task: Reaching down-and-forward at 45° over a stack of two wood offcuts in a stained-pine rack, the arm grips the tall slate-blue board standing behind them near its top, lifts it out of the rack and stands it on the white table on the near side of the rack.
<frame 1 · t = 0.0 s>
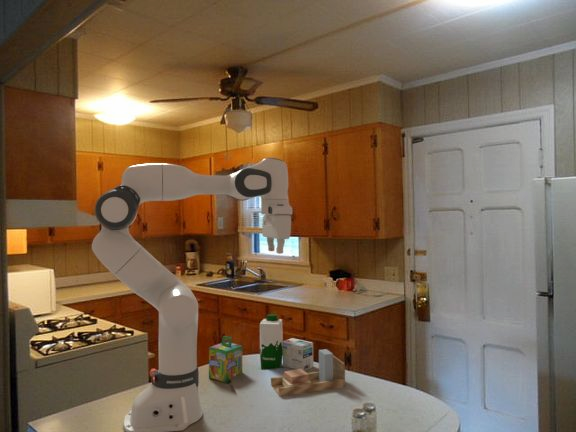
hand: (275, 252, 139), 48 cm above the table, tool pointing down, fingers open, 8 cm apart
light bulb box: (297, 369, 169), on the table
milk carton: (271, 367, 172), on the table
offcut top: (296, 379, 148), point 4 cm above the table, touching offcut low
tall board: (325, 383, 151), point 1 cm above the table, touching rack
rack: (307, 389, 149), on the table
offcut low: (296, 387, 148), point 1 cm above the table, touching offcut top, rack
chalk box: (225, 377, 162), on the table
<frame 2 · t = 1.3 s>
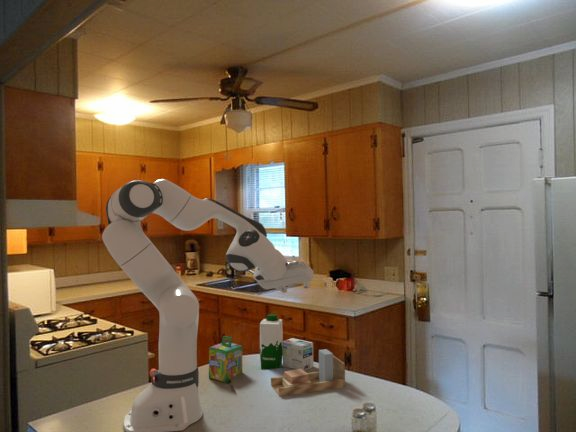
hand: (296, 288, 153), 34 cm above the table, tool tilted 50°, fingers open, 8 cm apart
nothing on the table moved.
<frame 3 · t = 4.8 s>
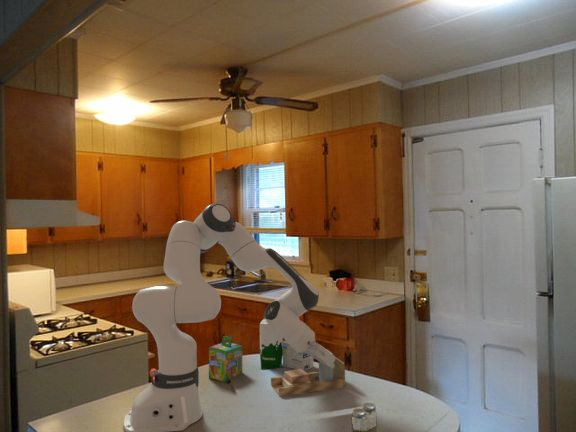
hand: (327, 363, 152), 8 cm above the table, tool tilted 45°, fingers closed on tall board, 6 cm apart
tall board: (325, 383, 151), point 1 cm above the table, touching gripper, rack
everything else where it was.
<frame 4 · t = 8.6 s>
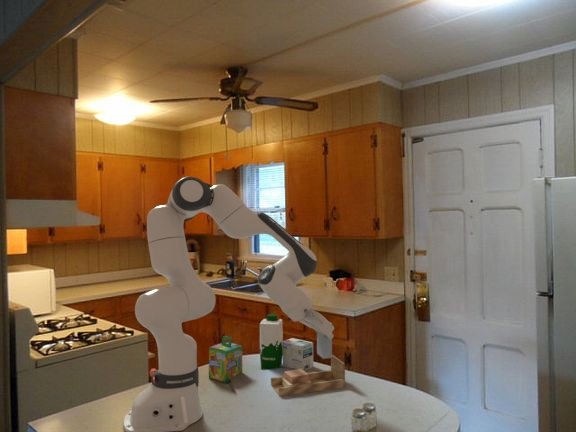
hand: (325, 334, 141), 21 cm above the table, tool tilted 45°, fingers closed on tall board, 6 cm apart
tall board: (324, 355, 141), point 14 cm above the table, touching gripper
everything else where it was.
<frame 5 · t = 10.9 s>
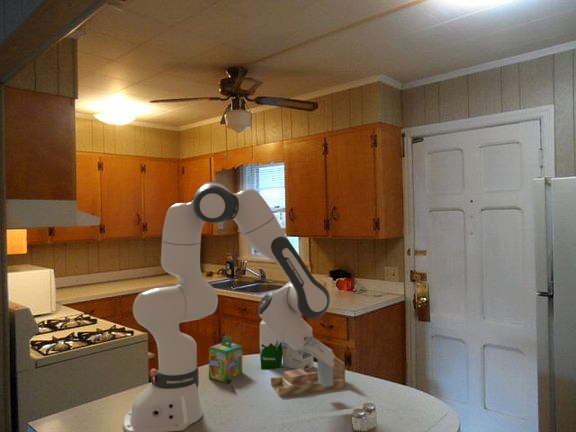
hand: (326, 361, 139), 13 cm above the table, tool tilted 45°, fingers closed on tall board, 6 cm apart
tall board: (325, 383, 138), point 6 cm above the table, touching gripper
everything else where it was.
when the fingers open (8 cm above the table, at t = 12.6 s): tall board drops 1 cm, on the table.
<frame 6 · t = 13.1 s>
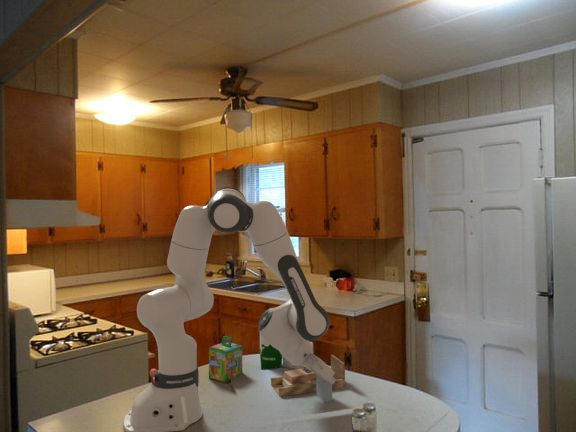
hand: (325, 376, 139), 8 cm above the table, tool tilted 45°, fingers open, 8 cm apart
tall board: (324, 401, 139), on the table
everything else where it was.
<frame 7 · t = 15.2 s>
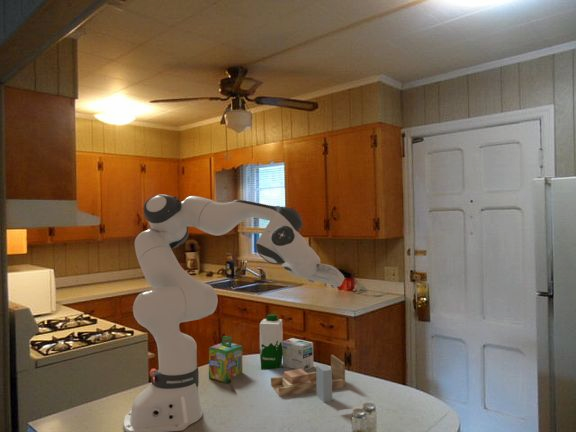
hand: (324, 283, 147), 37 cm above the table, tool tilted 55°, fingers open, 8 cm apart
nothing on the table moved.
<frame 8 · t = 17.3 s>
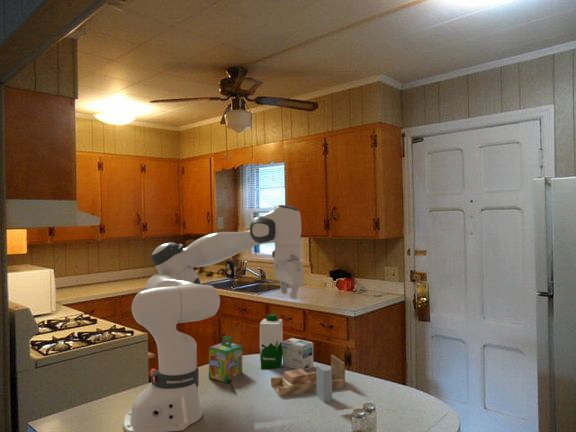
hand: (288, 295, 144), 33 cm above the table, tool pointing down, fingers open, 8 cm apart
nothing on the table moved.
at the end: tall board inside the target area (0.8 cm from its centre), on the table; tall board touching table; the gripper is holding nothing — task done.
